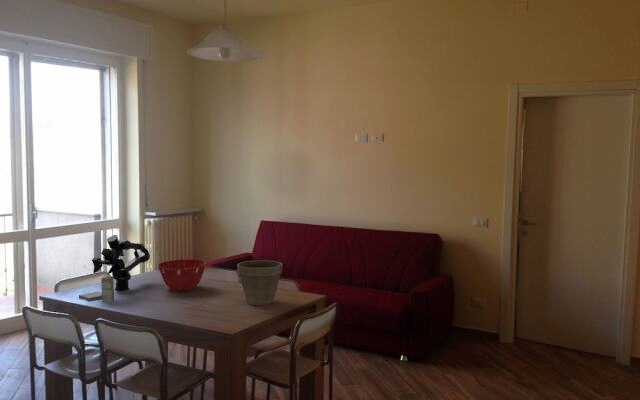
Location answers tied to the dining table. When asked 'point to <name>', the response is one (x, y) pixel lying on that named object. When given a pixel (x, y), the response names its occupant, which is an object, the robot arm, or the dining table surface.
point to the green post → (107, 288)
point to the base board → (91, 296)
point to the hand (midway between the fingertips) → (101, 272)
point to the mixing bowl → (182, 273)
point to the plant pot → (259, 280)
